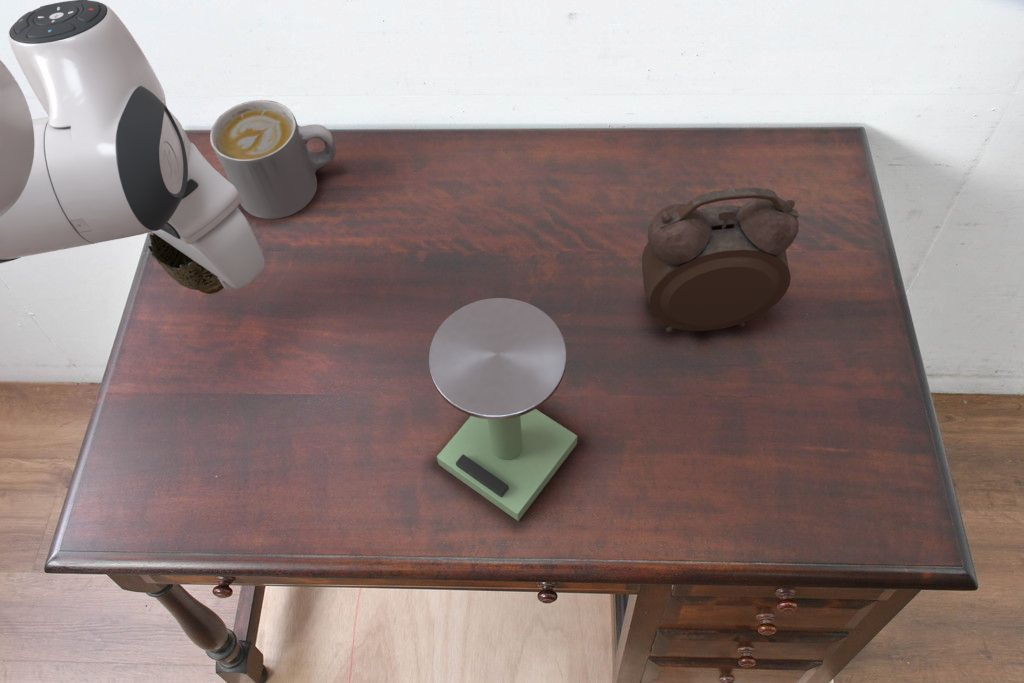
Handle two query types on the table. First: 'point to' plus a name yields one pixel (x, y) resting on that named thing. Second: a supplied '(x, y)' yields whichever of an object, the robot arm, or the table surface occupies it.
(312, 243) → the table surface
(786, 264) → the alarm clock
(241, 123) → the coffee mug
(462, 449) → the scale
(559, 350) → the brushed steel disc
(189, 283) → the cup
